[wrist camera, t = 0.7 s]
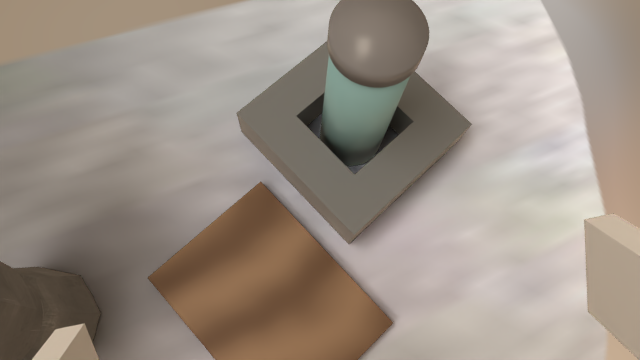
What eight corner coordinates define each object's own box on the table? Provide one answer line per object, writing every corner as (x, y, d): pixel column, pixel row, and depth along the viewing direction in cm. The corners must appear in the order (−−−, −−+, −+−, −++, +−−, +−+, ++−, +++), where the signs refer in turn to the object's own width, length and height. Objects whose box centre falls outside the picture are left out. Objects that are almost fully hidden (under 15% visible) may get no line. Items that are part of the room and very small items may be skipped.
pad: (151, 279, 40) (147, 277, 39) (261, 185, 43) (260, 181, 42) (281, 435, 37) (280, 438, 36) (390, 323, 40) (393, 322, 39)
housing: (241, 132, 45) (236, 112, 41) (351, 43, 48) (356, 18, 44) (348, 244, 42) (353, 235, 38) (457, 141, 45) (471, 124, 42)
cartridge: (303, 134, 45) (307, 25, 29) (350, 95, 46) (378, -30, 31) (349, 181, 44) (379, 93, 28) (396, 139, 45) (449, 33, 29)
